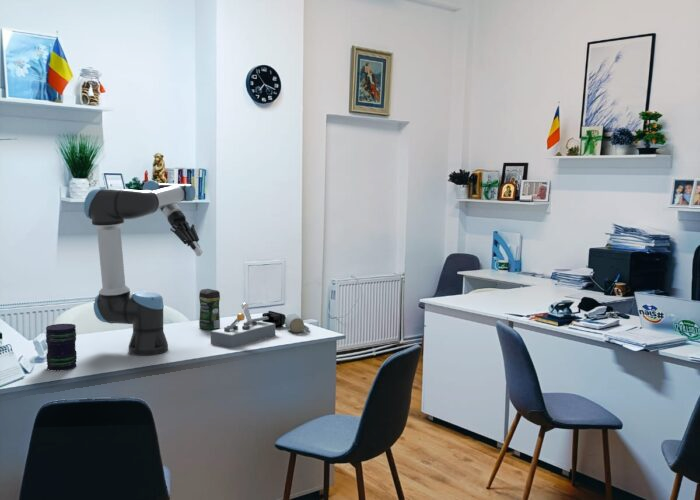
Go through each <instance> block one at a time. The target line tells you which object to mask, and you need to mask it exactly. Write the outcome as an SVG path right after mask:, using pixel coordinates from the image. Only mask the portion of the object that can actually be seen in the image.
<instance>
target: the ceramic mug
mask: <svg viewBox="0 0 700 500" xmlns="http://www.w3.org/2000/svg"><path fill="white" fill-rule="evenodd" d="M304 323H305V321H304V320H303V319H302V318H301V317H300V316H299V315H298V314H296V313H290V314H288V315H287V316H286V319H285V324H284V325H285V327H286V328H287V329H288V330H289V331H290V332H292V333H294V334H299V333H300V332H302V331H306V332H309V330H310V327H308V326H306V325H305V324H304Z"/></svg>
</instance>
